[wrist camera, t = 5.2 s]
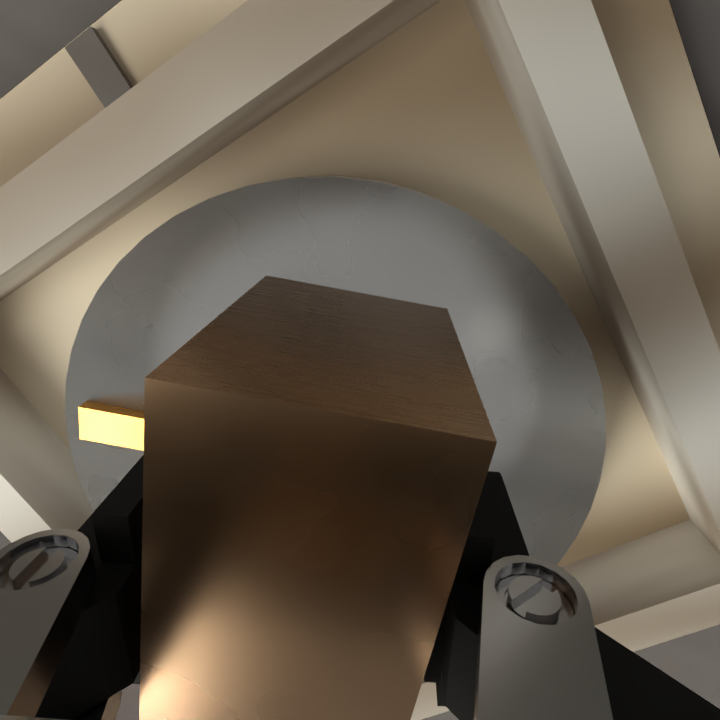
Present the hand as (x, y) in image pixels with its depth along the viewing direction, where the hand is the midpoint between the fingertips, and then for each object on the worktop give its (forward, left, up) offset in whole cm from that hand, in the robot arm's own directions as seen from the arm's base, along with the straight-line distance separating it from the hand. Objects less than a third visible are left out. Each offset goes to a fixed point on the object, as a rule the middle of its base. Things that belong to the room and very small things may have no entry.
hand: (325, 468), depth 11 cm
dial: (0, 0, -2) cm, 2 cm away
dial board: (0, 0, -4) cm, 4 cm away
